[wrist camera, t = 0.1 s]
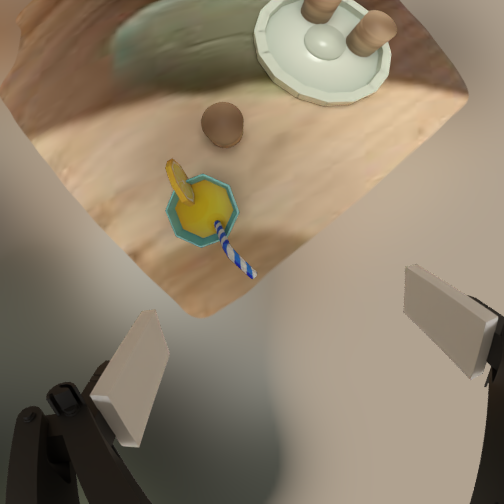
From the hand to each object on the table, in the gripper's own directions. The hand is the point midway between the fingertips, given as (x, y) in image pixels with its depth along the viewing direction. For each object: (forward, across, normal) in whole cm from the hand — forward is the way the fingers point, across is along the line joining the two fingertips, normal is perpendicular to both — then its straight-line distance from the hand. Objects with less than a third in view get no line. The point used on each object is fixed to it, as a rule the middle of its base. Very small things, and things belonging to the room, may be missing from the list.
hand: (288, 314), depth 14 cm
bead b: (+27, +20, +25) cm, 42 cm away
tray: (+28, +14, +25) cm, 40 cm away
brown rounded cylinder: (+27, +14, +31) cm, 43 cm away
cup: (+28, -5, +3) cm, 29 cm away
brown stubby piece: (+28, -2, +13) cm, 31 cm away
